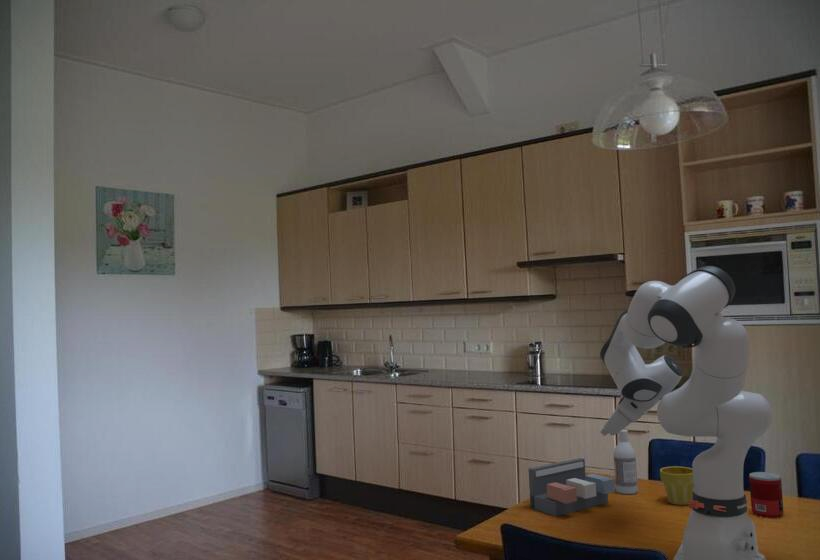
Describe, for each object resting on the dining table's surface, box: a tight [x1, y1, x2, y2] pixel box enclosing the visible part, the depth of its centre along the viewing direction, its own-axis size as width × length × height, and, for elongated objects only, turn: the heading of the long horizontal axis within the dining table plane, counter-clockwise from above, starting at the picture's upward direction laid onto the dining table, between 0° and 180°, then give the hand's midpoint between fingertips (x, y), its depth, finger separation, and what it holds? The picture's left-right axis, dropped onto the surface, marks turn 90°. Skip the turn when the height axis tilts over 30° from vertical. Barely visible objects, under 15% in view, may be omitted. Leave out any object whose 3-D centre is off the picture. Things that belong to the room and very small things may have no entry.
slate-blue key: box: [585, 473, 616, 494], centre depth 203 cm, size 8×5×4 cm, turn 31°
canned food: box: [748, 471, 784, 519], centre depth 187 cm, size 8×8×11 cm
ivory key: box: [566, 478, 596, 499], centre depth 199 cm, size 8×5×4 cm, turn 31°
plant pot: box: [659, 465, 694, 506], centre depth 201 cm, size 10×10×10 cm
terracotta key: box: [547, 482, 577, 504], centre depth 195 cm, size 8×5×4 cm, turn 31°
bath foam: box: [613, 429, 639, 495], centre depth 215 cm, size 7×7×20 cm
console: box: [528, 457, 609, 518], centre depth 203 cm, size 11×22×12 cm, turn 121°
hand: (608, 425), depth 196 cm, fingers open, 8 cm apart
